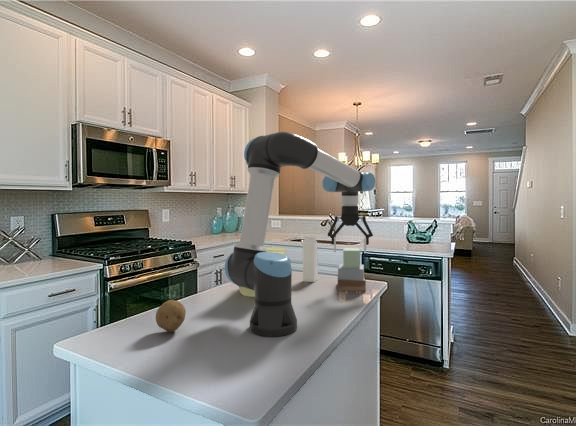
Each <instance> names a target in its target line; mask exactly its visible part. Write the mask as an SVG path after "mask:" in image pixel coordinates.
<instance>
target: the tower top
mask: <svg viewBox="0 0 576 426" xmlns="http://www.w3.org/2000/svg"><path fill="white" fill-rule="evenodd" d="M364 278H365V265H364V264H360V268H344V266H343V263H340V264H339V266H338V267H337V281H338V280H358V281H363V279H364Z"/></svg>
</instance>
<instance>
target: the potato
mask: <svg viewBox="0 0 576 426" xmlns="http://www.w3.org/2000/svg"><path fill="white" fill-rule="evenodd" d="M185 317H186V307H185V306H184V304H182V303H181V302H180V301H179V300H175V299H169V300H167V301H165V302H163V303H162V304H161V305H160V306H159V307H158V309H157V311H156V313H155V322H156V324H157V326H158V327H159V328H160V329H162V330H164V331H166V332H168V333H173V332H176V330H178V329H179V328H180V327H181V326H182V324H183V322H184V320H185Z"/></svg>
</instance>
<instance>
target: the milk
mask: <svg viewBox="0 0 576 426" xmlns="http://www.w3.org/2000/svg"><path fill="white" fill-rule="evenodd" d="M318 274H319V273H318V241H317V237H316V236H304V237H303V242H302V282H304V283H305V282H307V283H308V282H309V283H315V282H316V281H317V280H318Z"/></svg>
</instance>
